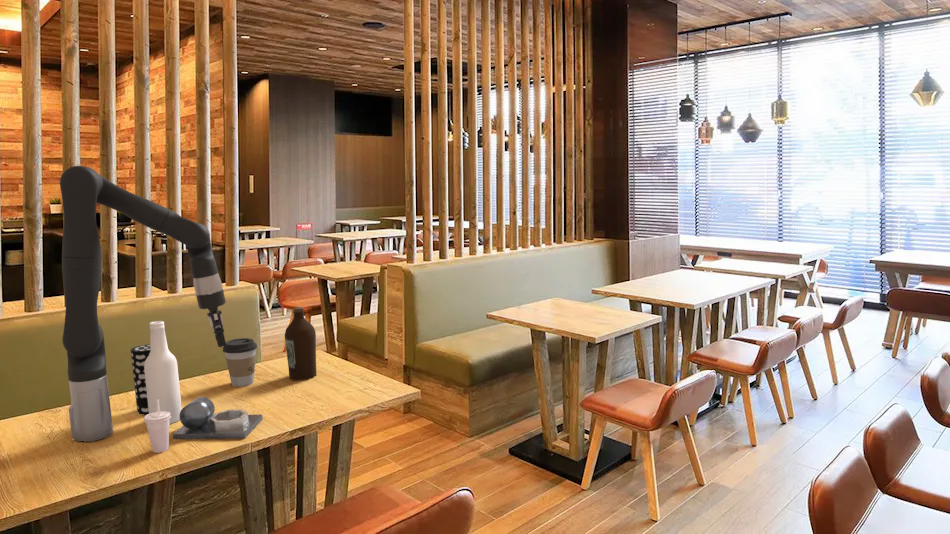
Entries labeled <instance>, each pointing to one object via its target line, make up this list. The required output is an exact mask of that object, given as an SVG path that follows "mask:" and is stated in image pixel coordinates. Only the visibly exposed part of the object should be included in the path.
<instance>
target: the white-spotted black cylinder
mask: <svg viewBox="0 0 950 534" xmlns="http://www.w3.org/2000/svg"><path fill="white" fill-rule="evenodd" d="M150 351H151V348H150V344H143V345H137V346H135V347H132V348H131V349H130V354H131V355H130V356H131V364H132V365H131V367H132V376H133V385H134V392H135V405H136V413H137V414H138V415H140V414H142V415H141V416H146V415H147V414H149V409H148V399H147V389H146V380H145V370H144V365H145V361H146V359H147V357H148V356H149V355H150ZM143 414H144V415H143Z"/></svg>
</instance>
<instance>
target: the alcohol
mask: <svg viewBox="0 0 950 534" xmlns="http://www.w3.org/2000/svg"><path fill="white" fill-rule="evenodd" d="M148 325H149V329H150V330H149V333H150V334H149V338H150V341H149V342H150V348H151V351H150V355H149V356H148V357H147V359H146V361H145V365H144V370H145V380H146V389H147V399H148V409H149V414H150V413H153V412H157V402H156V400H157V399H159V408H160V411H167V412H170V416H171V417H170V419H169V425H172V423H173V424H175V422H176V423H178V422H179V421H180V412H181V410H182V409H183V408H182V401H181V400H182V398H181V389H180V388H181V387H180V379H179V367H178V360H177V357H176V356H175V355H174V354H173V353H172V352H171V351H170V350H169V347H168V346H169V345H168V342H167V341H168V340H167V335H166V330H165V328H166V327H165V326H166V325H165V321H163V320H155V321H151V322H149V324H148ZM177 421H178V422H177Z"/></svg>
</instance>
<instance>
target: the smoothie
mask: <svg viewBox="0 0 950 534" xmlns="http://www.w3.org/2000/svg"><path fill="white" fill-rule="evenodd" d="M156 402H157V412H153V413H150V414H148V415H144V417H143V422H144V423H145V424H146V428H147V429H146V430H147V433H148V436H149V437H148V438H149V440H150V444H151V448H152V452H153V453H154V452H155V453H154V454H161V453H160V452H162V453H165V452H167V451H168V450H169V441H170V439H169V438H170V424H169V419H170V417H171V416H170V412H167V411H160V408H159V399H157V400H156ZM164 451H165V452H164Z"/></svg>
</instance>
